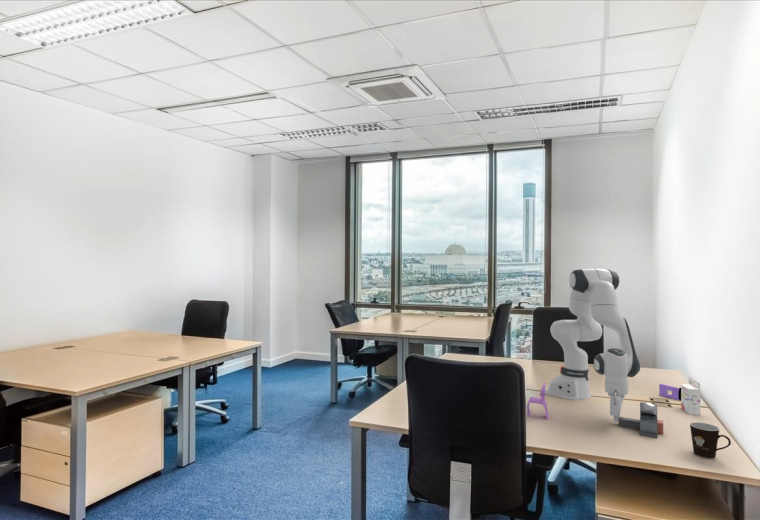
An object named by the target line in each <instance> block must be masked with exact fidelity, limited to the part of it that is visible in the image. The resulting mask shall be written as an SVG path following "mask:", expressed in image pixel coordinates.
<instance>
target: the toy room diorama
mask: <svg viewBox="0 0 760 520" xmlns="http://www.w3.org/2000/svg"><path fill="white" fill-rule="evenodd" d="M658 386H659V387H658V388H659V389H658V391H659V393H658V394H659V396H660V397H664V398H668V399H671V398H672V400H676V401H681V387H675V386H671V385H667V384H663V383H659V384H658Z"/></svg>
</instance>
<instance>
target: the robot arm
mask: <svg viewBox="0 0 760 520" xmlns="http://www.w3.org/2000/svg"><path fill="white" fill-rule="evenodd" d="M568 280H569V286H570V288H571V292H570V297H569V303H568V309H569V311H570V313H571V314H572V315H574V316H575V317H577V318H576V319H560V320H555V321H553V323H552V324H551V326H550V329H549V330H550V334H551V337H552V338H553V339H554V340H555V341H557V342H558V344H559V345H560V346H561V348H562V350H563V360H564V365H561V366H560V367H559V368H560V373H559V374H558V375H556V376H555V377H553V378H551V379H550V381H549V384H548V387H546V388H545V389H546V392H545V395H547V396H548V395H549V396H553V397H556V398H557V397H558V398H562V399H568V400H571V401H578V400H588V399H591V398H592V394H591V391H590V386H589V379H590V371H589V363H588V362H589V361H588V360H589V356H588V353H587V352H586V351H585V350H584V349H583V348H581V347H579V346H578V342H593V341H598V340H600V339H601V337H602V336H603V327H602V326H604V328H605V327H606V328H608V329H610V330H613V332H616V334H617V336H618V339H619V342H620V347H621V349H620V348H608V349H606V351H605V352H603V353H597V355H595V356H594V358H593V370H594V371H595V372H596V373H597V374H599V375H600V376H605V378H604V391H605V393H607V396H609V415H610V416H612V417H613V422H615V423H618V421H619V417H621V412H622V406H623V402H624V398H625V397H626V395H628V394H629V380H628V379H629V378H634V377H635V376H637V375H638V374H639V373H640V371H641V364H640V360H639V358H638V355H637V353H636V349H635V345H634V341H633V337H632V334H631V329H630V327H629V326H630V325H629V324H628V321H627V319H626V318H625V317H623V316H622V315H621V313H620V311H619V306H618V300H617V299H618V297H617V293H616V290H617V289H618V287H619V285H620V277H619V274H618V273H617V271H616V270H613V269H603V268H586V269H582V268H581V269H575V270H572V272H570V275H569V279H568Z"/></svg>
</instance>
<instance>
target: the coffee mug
mask: <svg viewBox="0 0 760 520" xmlns="http://www.w3.org/2000/svg"><path fill="white" fill-rule="evenodd" d="M689 427H690V433H691V434H690V435H691V444H692V451H693V454H694V455H696V456H698V457H700V458H701V457H702V458H706V459H715V458H716V456H717V451H720V450H724V449H726V448H729V447H731V446H730V445H732V444H731V443H732V442H731V438H730V437H728V436H726V435H724V434H719V433H720V428H719V427H718V426H717V425H713V424H710V423H706V422H697V421H696V422H695V421H693V422H690V423H689ZM722 437H723V438H725V439H726V440H727V441H728V444H727V445H725V446H723V447H718V440H719V438H722ZM717 447H718V448H717Z"/></svg>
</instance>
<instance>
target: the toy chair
mask: <svg viewBox="0 0 760 520" xmlns="http://www.w3.org/2000/svg"><path fill="white" fill-rule="evenodd" d="M545 387H546V383H545V382H544V383H543V384H542V386H541V389H540V392H539V396H540V397H533V396H529V399H528V402H527V404H526V414H527V417H530V415H531V411H530V404H537V405H538V404H539V405H542V406H543V408H544V410H545V411H544V412H545V417H546V420H548V419H549V416H550V415H549V412H548V411H549V410H548V406H547V405H548V404H547V401H546V394H545V392H546V388H545Z"/></svg>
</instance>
